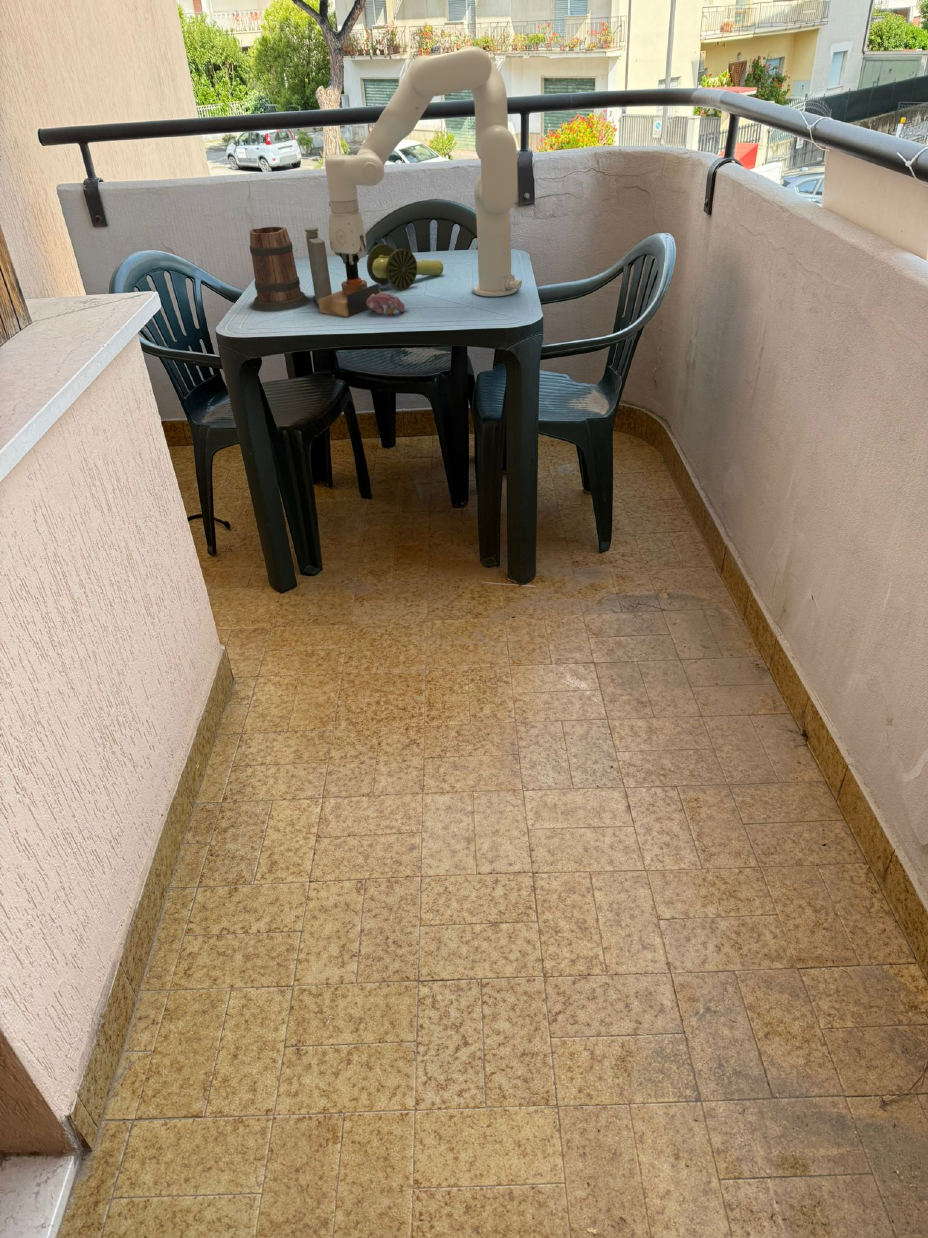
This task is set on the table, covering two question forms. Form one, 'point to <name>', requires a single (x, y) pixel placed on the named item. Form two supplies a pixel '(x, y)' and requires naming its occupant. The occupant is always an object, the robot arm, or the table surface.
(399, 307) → the pink lumpy mass
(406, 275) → the cannon
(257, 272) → the tankard
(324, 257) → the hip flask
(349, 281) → the power button
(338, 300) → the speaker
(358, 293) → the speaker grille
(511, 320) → the table surface
